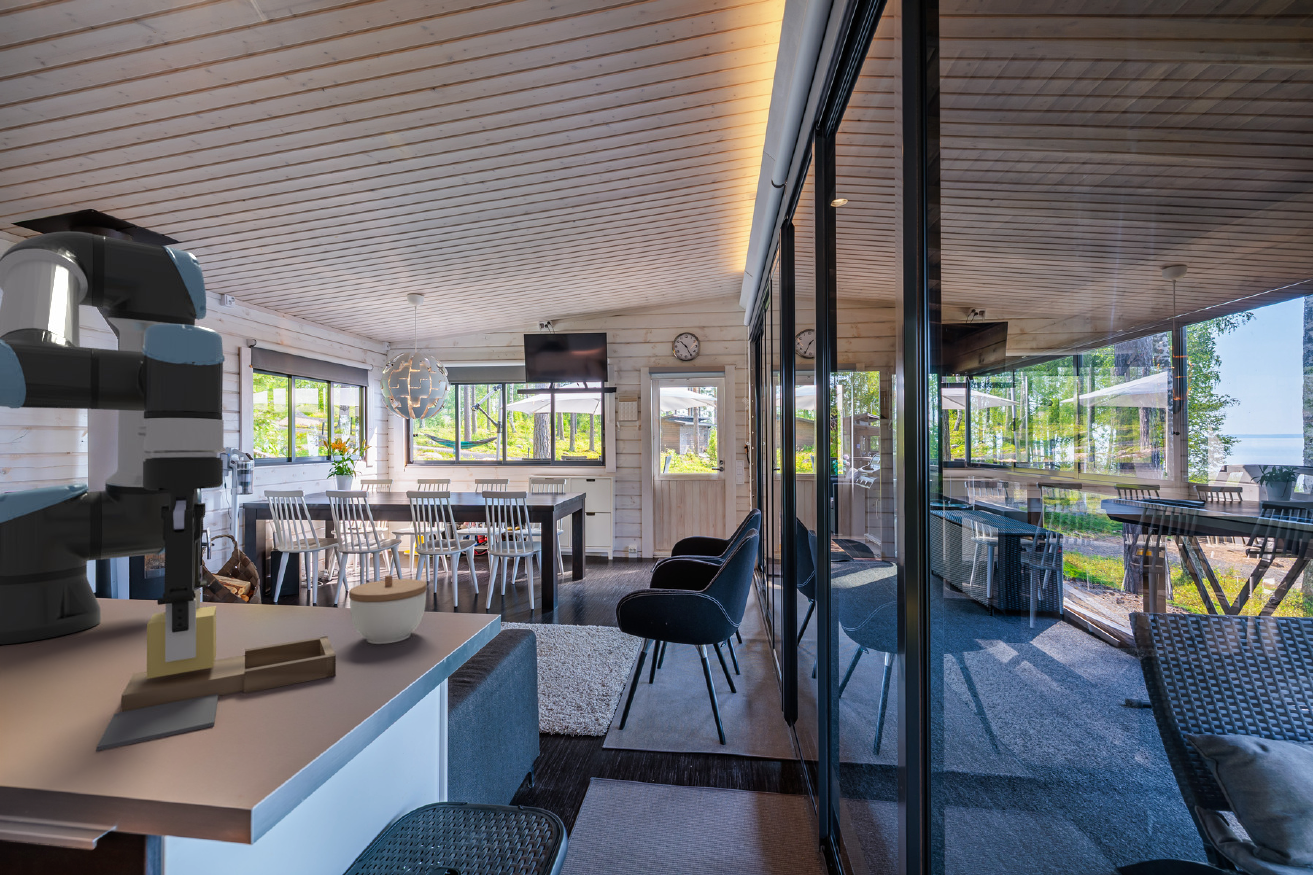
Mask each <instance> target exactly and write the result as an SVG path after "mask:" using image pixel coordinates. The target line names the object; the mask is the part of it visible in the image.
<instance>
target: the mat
mask: <svg viewBox="0 0 1313 875" xmlns="http://www.w3.org/2000/svg"><path fill="white" fill-rule="evenodd" d="M218 700H219V696H218V694H213V695H208V696H203V697H198V698H193V699H187V700H182V701H177V702H172V703H166V704H161V705H156V706H151V707H145V708H140V709H135V710H130V711H124V712H121V711H120V712H115V713H113V715H112V717H111V719H110V721H109V723H108V725H107V727H106V728H105V730H104V732H103V734H102V736H101V738H100V740H99V742H98V743H97V745H96V748H95V749H96V750H95V751H96V752H100V751H103V750H109V749H112V748H113V749H114V748H117V747H118V748H119V747H122V746H127V745H132V744H136V743H140V742H141V743H142V742H145V741H150V740H156V739H160V738H164V737H170V736H174V735H178V734H183V733H188V732H193V731H197V730H201V729H206V728H211V727H214V726H215V723H216V715H217V708H218Z"/></svg>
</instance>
